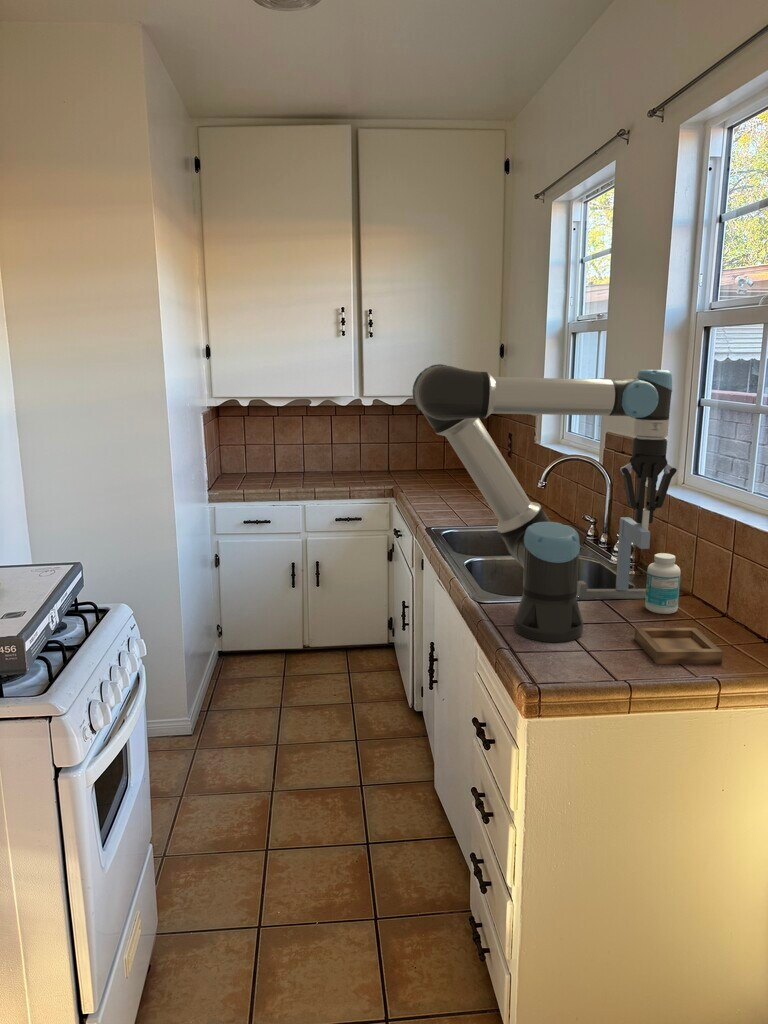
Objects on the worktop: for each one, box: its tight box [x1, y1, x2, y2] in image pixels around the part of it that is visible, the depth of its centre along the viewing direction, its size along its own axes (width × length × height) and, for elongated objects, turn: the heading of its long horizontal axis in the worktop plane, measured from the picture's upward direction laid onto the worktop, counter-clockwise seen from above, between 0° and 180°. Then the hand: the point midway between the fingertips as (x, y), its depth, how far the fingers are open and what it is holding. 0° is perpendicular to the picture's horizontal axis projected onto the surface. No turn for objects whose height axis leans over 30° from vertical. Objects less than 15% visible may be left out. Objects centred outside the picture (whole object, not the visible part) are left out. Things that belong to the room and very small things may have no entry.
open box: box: [634, 627, 724, 665], centre depth 151 cm, size 13×13×2 cm
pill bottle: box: [644, 552, 682, 615], centre depth 175 cm, size 8×7×14 cm
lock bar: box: [615, 516, 651, 590], centre depth 176 cm, size 2×15×18 cm, turn 0°
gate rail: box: [577, 580, 646, 601], centre depth 184 cm, size 23×3×4 cm, turn 90°
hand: (642, 536), depth 174 cm, fingers closed
